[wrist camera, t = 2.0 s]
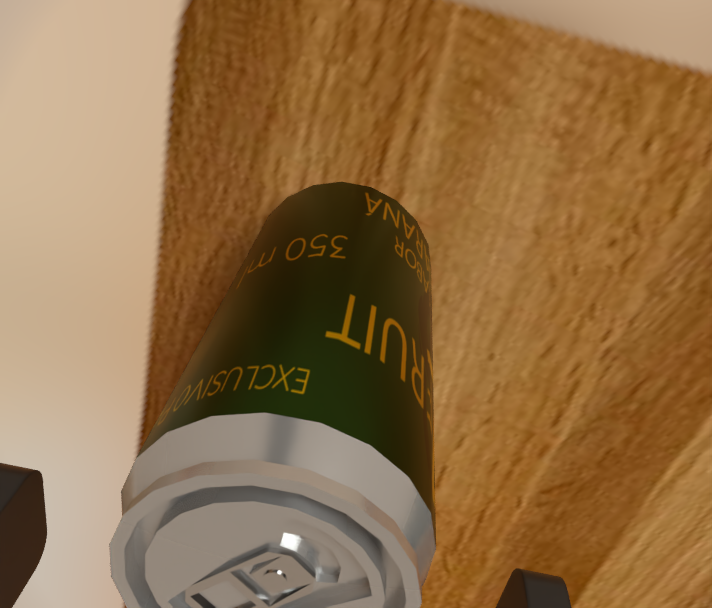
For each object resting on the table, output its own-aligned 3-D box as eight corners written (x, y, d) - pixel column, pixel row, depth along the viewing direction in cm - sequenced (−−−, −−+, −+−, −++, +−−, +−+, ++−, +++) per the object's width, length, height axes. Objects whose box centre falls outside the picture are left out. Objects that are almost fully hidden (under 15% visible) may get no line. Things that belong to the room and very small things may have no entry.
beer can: (329, 353, 22) (246, 717, 12) (227, 234, 20) (24, 544, 10) (463, 277, 20) (503, 633, 10) (365, 137, 19) (288, 400, 8)
